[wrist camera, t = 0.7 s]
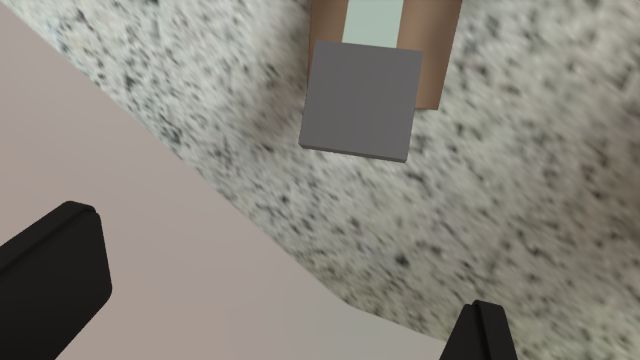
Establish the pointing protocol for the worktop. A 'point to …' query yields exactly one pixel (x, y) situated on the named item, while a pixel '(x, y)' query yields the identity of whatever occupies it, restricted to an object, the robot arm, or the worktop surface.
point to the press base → (402, 38)
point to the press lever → (363, 87)
